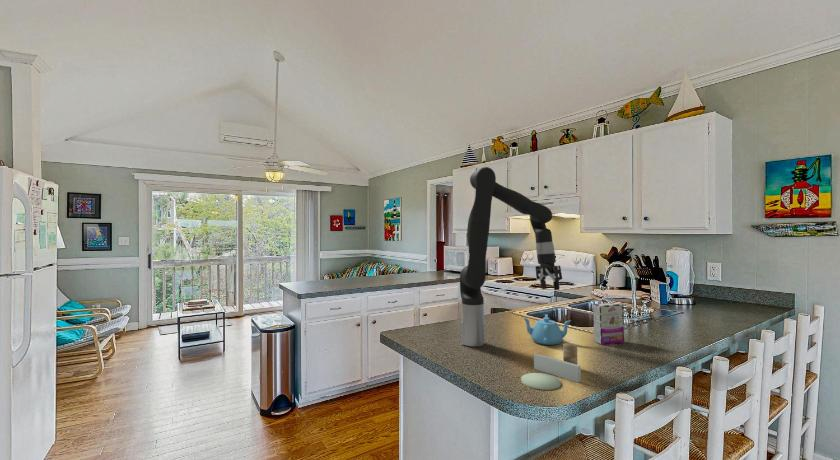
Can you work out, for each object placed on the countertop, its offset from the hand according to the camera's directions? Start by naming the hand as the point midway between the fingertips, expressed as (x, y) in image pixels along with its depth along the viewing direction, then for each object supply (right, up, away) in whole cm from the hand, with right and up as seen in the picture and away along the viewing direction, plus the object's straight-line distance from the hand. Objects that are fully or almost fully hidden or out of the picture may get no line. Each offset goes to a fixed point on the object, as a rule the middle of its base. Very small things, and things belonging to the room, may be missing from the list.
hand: (550, 289), depth 163 cm
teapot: (-2, -22, -2) cm, 22 cm away
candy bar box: (+23, -22, -6) cm, 32 cm away
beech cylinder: (-5, -22, -35) cm, 41 cm away
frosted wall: (-12, -22, -40) cm, 47 cm away
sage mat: (-19, -22, -46) cm, 54 cm away
